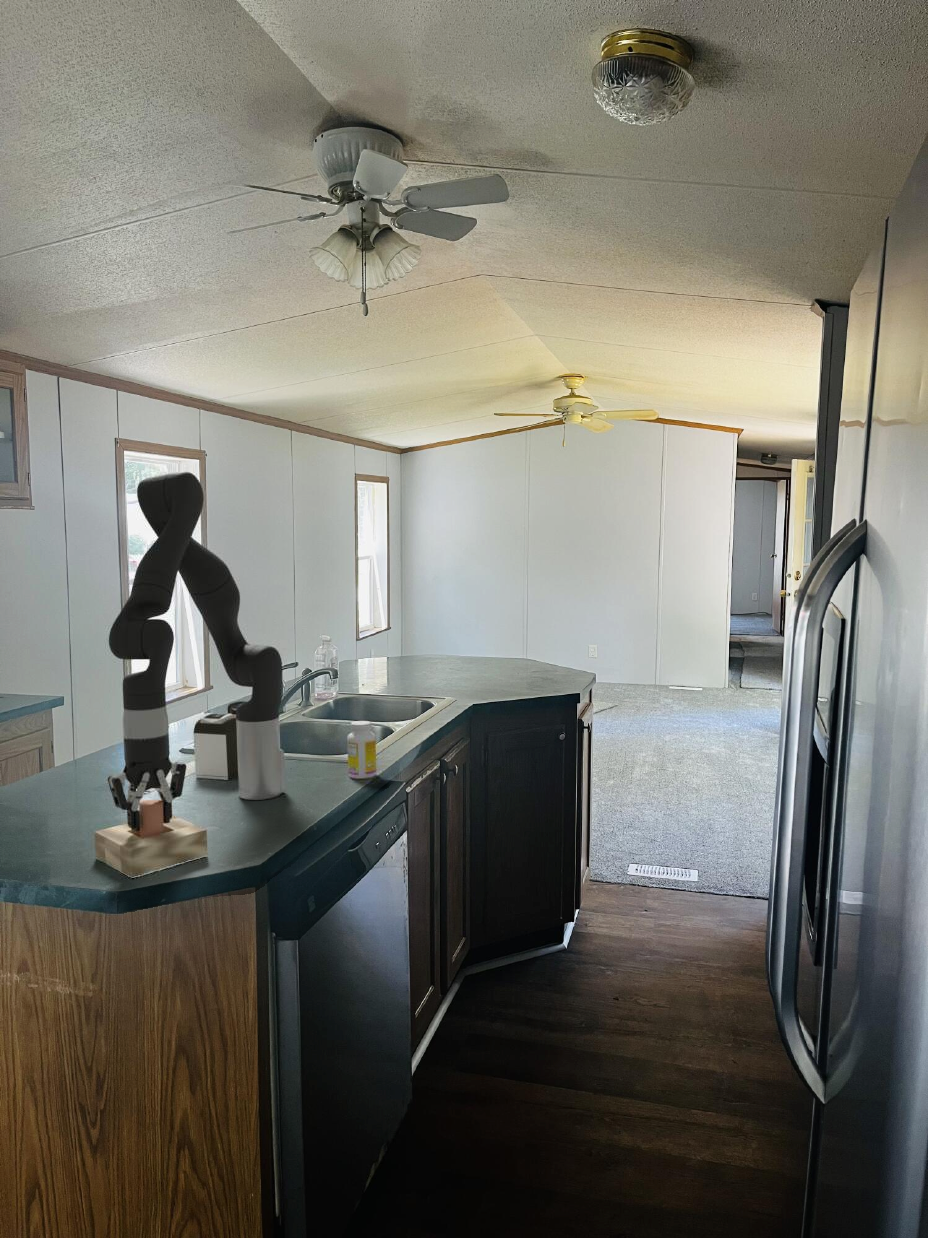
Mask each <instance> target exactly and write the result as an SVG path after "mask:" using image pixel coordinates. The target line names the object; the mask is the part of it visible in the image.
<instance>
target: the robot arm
mask: <svg viewBox="0 0 928 1238" xmlns="http://www.w3.org/2000/svg"><path fill="white" fill-rule="evenodd" d="M202 487H203V486H202V483H200V480H199V479H198V478H197V477H196V475H194V473H192V472H190V471H186V470H185V471H174V472H171V473H166V474H161V475H160V474H159V475H156V476H151V477H147V478H144V479H142V480H141V481H140V482H139V483H138V485H137V488H136V495H137V496H136V497H137V503H138V505H139V508H140V510H141V512H142V514H143V516H144V518H145V520H146V521H147V523H148V524H149V526H150V527H151V530H152V531H153V532H154V534H155V535H156V536H157V539H156V540H155V541H154V543H153V544H152V545H151V546H150V547H149V548H148V549H147V551H146V552H145V553H144V555H143V557H142V558H141V559H140V561H139V562H138V566H137V567H136V571H135V574H134V578H133V582H132V586H131V589H130V590H131V591H130V594H129V597H128V598H127V600H126V602H125V604H124V605H123V607H122V609H121V611H120V612H119V614H118V615H117V616H116V618H115V620H114V622H113V623H112V626H111V628H110V631H109V635H108V645H109V649H110V652H111V653H112V654H113V656H114V657H116V658H117V659H120V660H124V661H125V660H127V661H128V660H129V661H130V660H132V661H133V660H148V661H149V662H148V666H147V667H146V669H145V670H142V671H137V672H133V673H130V674H127V675H126V676H124V678H123V680H122V700H123V701H122V702H123V713H122V714H123V715H122V731H123V732H122V735H123V736H122V737H123V754H124V757H123V758H124V763H125V766H124V768H123V771H122V772H121V773H118V774H116V775H109V776H108V777H107V782H108V783H107V784H108V786H109V789H110V792H111V793H110V794H111V796H112V800H113V803H114V806H115V807H116V808H119V809H121V810H123V811H125V810H126V816H127V817H126V818H127V819H126V820H127V823H128V826H129V827H130V828H131V829H132V830H133V831H135V832H136V831H140V813H139V803H140V802H141V800H142V798H143V797H144V795H143V794H144V791H147V790H149V789H151V788H155V789H156V790H155V791H156V792H157V794H158V796H159V800H161V801H163V823H165V824H166V823H170V819H172V815H173V804H172V803H173V801H174V800H175V799H176V798H180V797H182V795H183V789H184V784H185V778H186V777H185V773H186V765H185V763H182V762H181V761H180V762H179V761H175V762H171V760H170V733H169V732H170V730H169V729H170V725H169V716H168V711H167V700H166V680H167V679H166V678H167V672H168V668H169V664H170V663H169V662H170V659H171V654H172V651H173V647H174V642H175V635H174V630H173V628H172V626H171V625H170V624H169V623H168V622H167V621H166V620H164V619H159V618H156V617H160V616H162V615H164V614H167V612H168V611H169V610H170V608H171V604H172V600H173V594H174V590H175V585H176V581H177V576H178V573H179V574H180V577H181V578H182V581H183V583H184V585H185V587H186V590H187V591H188V593H189V595H190V597H191V599H192V601H193V603H194V605H195V606H196V608H197V610H198V612H199V613H200V615H201V617H202V619H203V621H204V623H205V625H206V627H207V630H208V631H209V632H208V633H210V636H211V637H212V640H213V642H214V644H215V647H216V650H217V653H218V655H219V658H220V660H221V663H222V666H223V668H224V670H225V672H226V675H227V677H228V678H229V680H230V681H231V682H233V684H235V685H237V686H241V687H248V688H251V689H252V690H251V698H250V699H249V700H248V701H246V702H245V703H242V704H240V705H238V706H237V708H236V729H237V756H238V775H237V777H238V780H237V781H238V787H237V788H238V796H239V798H241V799H243V800H248V801H250V800H251V801H259V800H268V799H272V798H276V797H278V796H280V795H281V794H283V793H286V771H285V750H284V749H282V748H281V737H280V736H281V733H280V709H281V708H280V707H281V704H282V700H283V661H282V657H281V653H280V652H279V651H278V649H277V648H275V647H273V646H270V645H263V644H262V645H259V644H250V643H249V642H247V640H246V639H245V637H244V635H243V634H242V632H241V629H240V626H239V623H238V617H239V611H240V607H241V605H240V604H241V595H240V594H241V593H240V590H239V587H238V585H237V583H236V581H235V579H234V577H233V575H232V573H231V571H230V569H229V567H228V566H227V564H226V563H225V562H224V560H222V559H221V558H220V557H219V556H217V554H215V553H214V552H212V551H210V549H208V548H207V547H205V546H204V545H203V544H201V543H199V542H198V541H197V540H196V539H195V538H193V537H192V536H193V534H194V531H195V528H196V526H197V524H198V522H199V519H200V516H201V514H202V510H203V508H204V500H205V499H204V491H203V488H202ZM170 771H171V774H172V778H171V783H170V784H168V783H167V781H166V777H167V775H168V773H169V772H170ZM126 780H127V781H128V782H129V786H128V788H127V789H128V793H127V797H126V793H124V790H125V789H124V786H125V781H126ZM136 789H137V791H136Z"/></svg>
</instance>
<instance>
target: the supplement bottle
mask: <svg viewBox="0 0 928 1238" xmlns="http://www.w3.org/2000/svg"><path fill="white" fill-rule="evenodd" d="M371 728H372V721H368V720H357V721H356V720H355V721H352V722H351V723H350V729H351V733H348V735H347V738H346V739H347V768H348V769H347V772H348V776H349V777H350V778H351V779H356V780H361V779H362V780H365V779H371V778H374V777H375V776H377V749H376V748H377V746H376V743H377V742H376V741H377V740H376V734H375V733H374V732H373V731H371V730H372V729H371Z"/></svg>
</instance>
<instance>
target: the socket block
mask: <svg viewBox="0 0 928 1238" xmlns="http://www.w3.org/2000/svg"><path fill="white" fill-rule="evenodd" d="M163 826H164V833H163V834H159V835H155V836H151V837H147V838H144V839H142V838H140V831H136V832H135V831H133V830H132V829H131V828H130V827H129V826H128V822H127V823H124V824H119V825H116V826H112V827H107V828H104V829H100V830H95V831H94V846H95V847H94V849H95V858H96V857H97V858H99V859H100V860H102V861H103V862H105V863H108V864H109V865H111V866H113V867H115V868H117V869H118V870H120V871H122V872H123V873H125V874H127V875H129V876H131V877H134V876H138V875H142V874H144V873H148V872H150V871H154V870H159V869H160V868H164V867H167V866H171V865H174V864H177V863H182V862H186V861H188V860H193V859H195V858H199V857H202V856H205V855H209V854H208V834H207V829H206V828H204V827H202V826H198V825H197V824H194V823H191V822H189V821H187V820H185V819H182V818H180V817H177V816H176V815H174V814H172V819H170V823H166V824H165V823H163Z"/></svg>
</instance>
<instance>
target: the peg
mask: <svg viewBox="0 0 928 1238" xmlns="http://www.w3.org/2000/svg"><path fill="white" fill-rule="evenodd" d="M138 810H139V813H140V838H142V839H144V838H147V837H151V836H155V835H159V834H163V833H164V826H163V801H162V800H161V799H148V800H143V801H140V803H139V806H138Z"/></svg>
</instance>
